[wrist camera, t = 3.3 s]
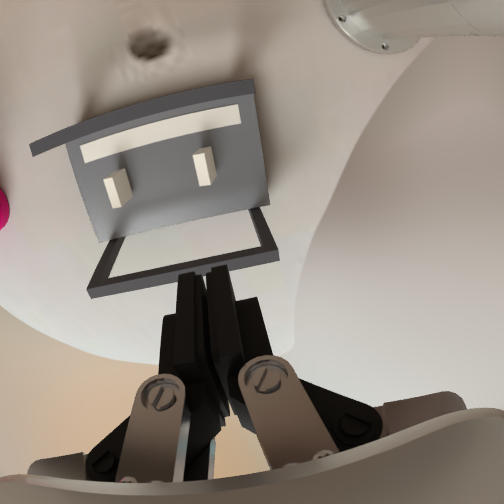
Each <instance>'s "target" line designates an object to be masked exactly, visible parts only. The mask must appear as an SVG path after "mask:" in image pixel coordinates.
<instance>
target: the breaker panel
mask: <svg viewBox="0 0 504 504" xmlns="http://www.w3.org/2000/svg"><path fill="white" fill-rule="evenodd" d="M65 144H66V148H67V151H68V155H69V158H70V162H71V165H72V168H73V171H74V174H75V178H76V181H77V184H78V187H79V190H80V193H81V196H82V198H83V201H84V204H85V207H86V210H87V212H88V215H89V218H90V221H91V223H92V226H93V228H94V231H95V234H96V236H97V239H98V241H99V243H100V242H104V241H108V240H112V239H116V238H120V237H125V236H129V235H133V234H137V233H141V232H145V231H150V230H154V229H158V228H162V227H167V226H171V225H176V224H180V223H185V222H189V221H194V220H198V219H203V218H208V217H212V216H217V215H222V214H226V213H231V212H236V211H241V210H246V209H251V208H256V207H261V206H266V205H270V200H269V193H268V186H267V179H266V172H265V165H264V159H263V152H262V145H261V139H260V132H259V126H258V120H257V113H256V107H255V101H254V95H253V94H247V95H241V96H235V97H229V98H224V99H218V100H213V101H208V102H203V103H199V104H194V105H189V106H185V107H181V108H177V109H172V110H168V111H164V112H161V113H157V114H153V115H149V116H146V117H142V118H139V119H135V120H132V121H128V122H125V123H122V124H119V125H116V126H112V127H109V128H106V129H103V130H100V131H97V132H95V133H92V134H89V135H86V136H83V137H81V138H78V139H75V140H73V141H70V142H67V143H65ZM210 146H211V149H212V154H213V158H214V163H215V168H216V173H217V177H216V178H215V179H214V181H213V182H212V184H211V185H206V186H199V182H198V177H197V173H196V168H195V164H194V159H193V154H194V153H195V152H197V151H198V150H199V149H200V148H204V147H210ZM124 168H125V170H126V173H127V177H128V180H129V184H130V187H131V190H132V194H133V197H132V198H131V199H130V200H129V201H128V202H126V203H125V204H124V205H123V206H122V207H119V208H112V205H111V202H110V199H109V196H108V193H107V190H106V187H105V184H104V180H103V179H105V178H106V177H107V176H109V175H110V174H112V173H113V172H115V171H116V170H120V169H124Z"/></svg>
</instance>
